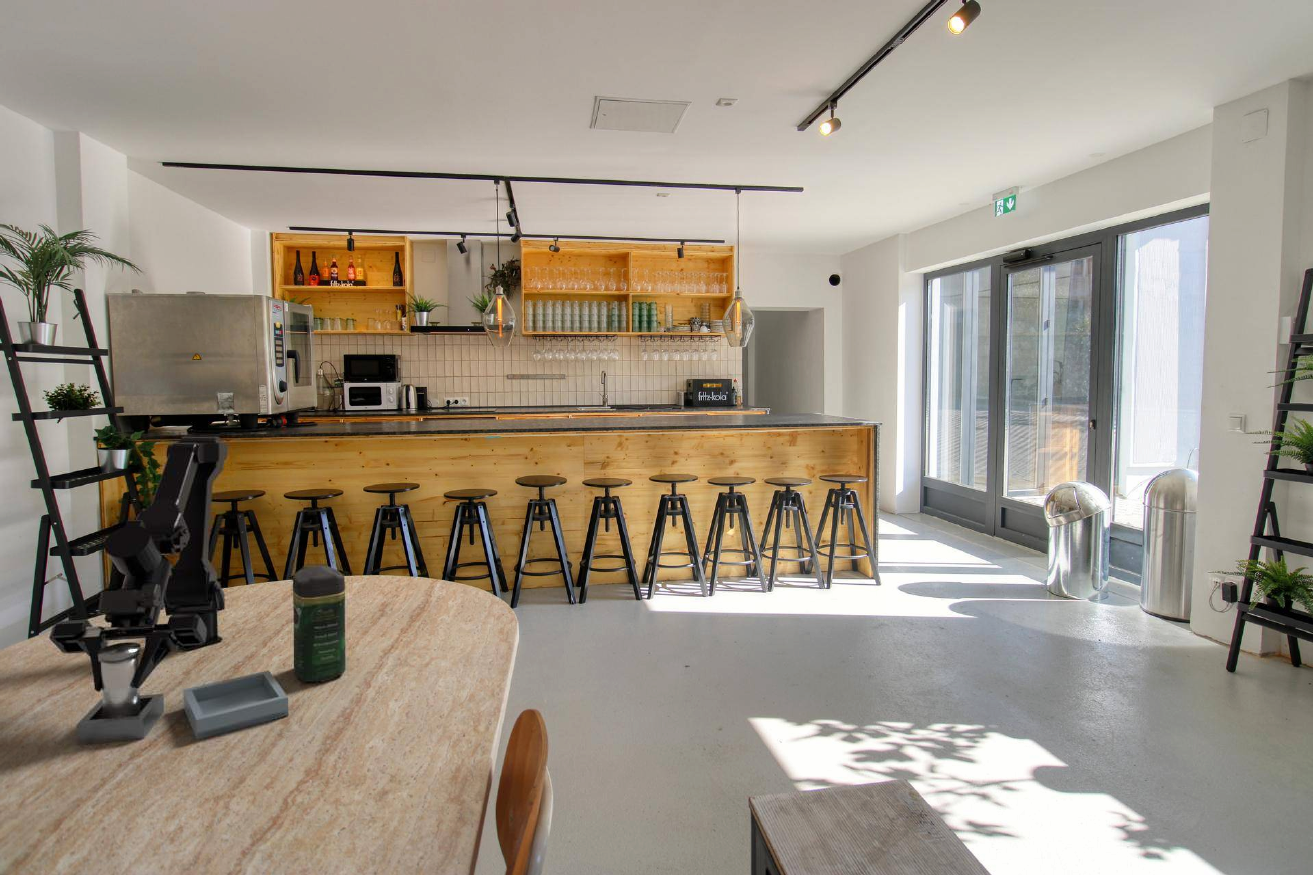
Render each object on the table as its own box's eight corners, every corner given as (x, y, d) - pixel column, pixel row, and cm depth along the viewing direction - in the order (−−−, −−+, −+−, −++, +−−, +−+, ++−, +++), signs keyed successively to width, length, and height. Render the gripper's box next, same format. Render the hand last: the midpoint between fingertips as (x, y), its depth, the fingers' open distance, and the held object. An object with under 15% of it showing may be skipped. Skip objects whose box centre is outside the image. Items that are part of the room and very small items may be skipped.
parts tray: (183, 708, 114) (183, 689, 113) (269, 687, 121) (268, 670, 121) (197, 740, 105) (196, 720, 104) (288, 715, 112) (288, 697, 112)
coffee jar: (351, 677, 126) (350, 572, 125) (301, 688, 122) (299, 579, 120) (337, 657, 134) (336, 558, 132) (289, 667, 129) (287, 565, 128)
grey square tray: (102, 717, 110) (101, 698, 110) (164, 712, 112) (163, 693, 112) (77, 744, 102) (76, 724, 102) (143, 738, 104) (143, 718, 104)
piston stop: (134, 716, 111) (131, 639, 109) (149, 726, 108) (147, 647, 107) (95, 729, 106) (91, 650, 105) (110, 740, 104) (106, 658, 102)
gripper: (52, 568, 106) (14, 673, 96) (198, 562, 111) (176, 661, 102) (80, 603, 114) (47, 703, 105) (215, 596, 119) (196, 690, 110)
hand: (116, 688), depth 105 cm, fingers closed on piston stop, 4 cm apart
